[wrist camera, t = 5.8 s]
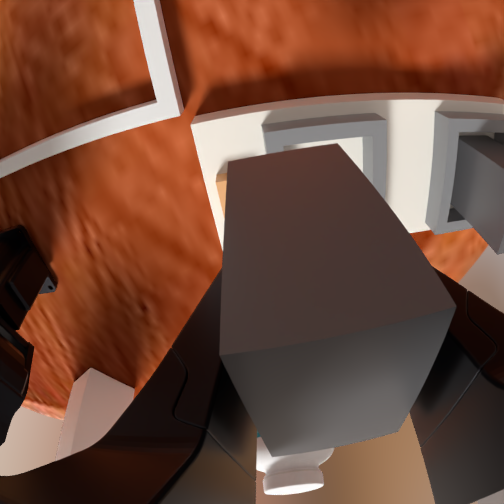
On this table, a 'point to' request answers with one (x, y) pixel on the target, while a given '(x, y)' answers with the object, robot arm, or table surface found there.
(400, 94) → the power strip
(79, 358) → the table surface
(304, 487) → the pill bottle
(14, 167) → the white square frame
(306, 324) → the plug
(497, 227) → the plug
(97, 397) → the milk
